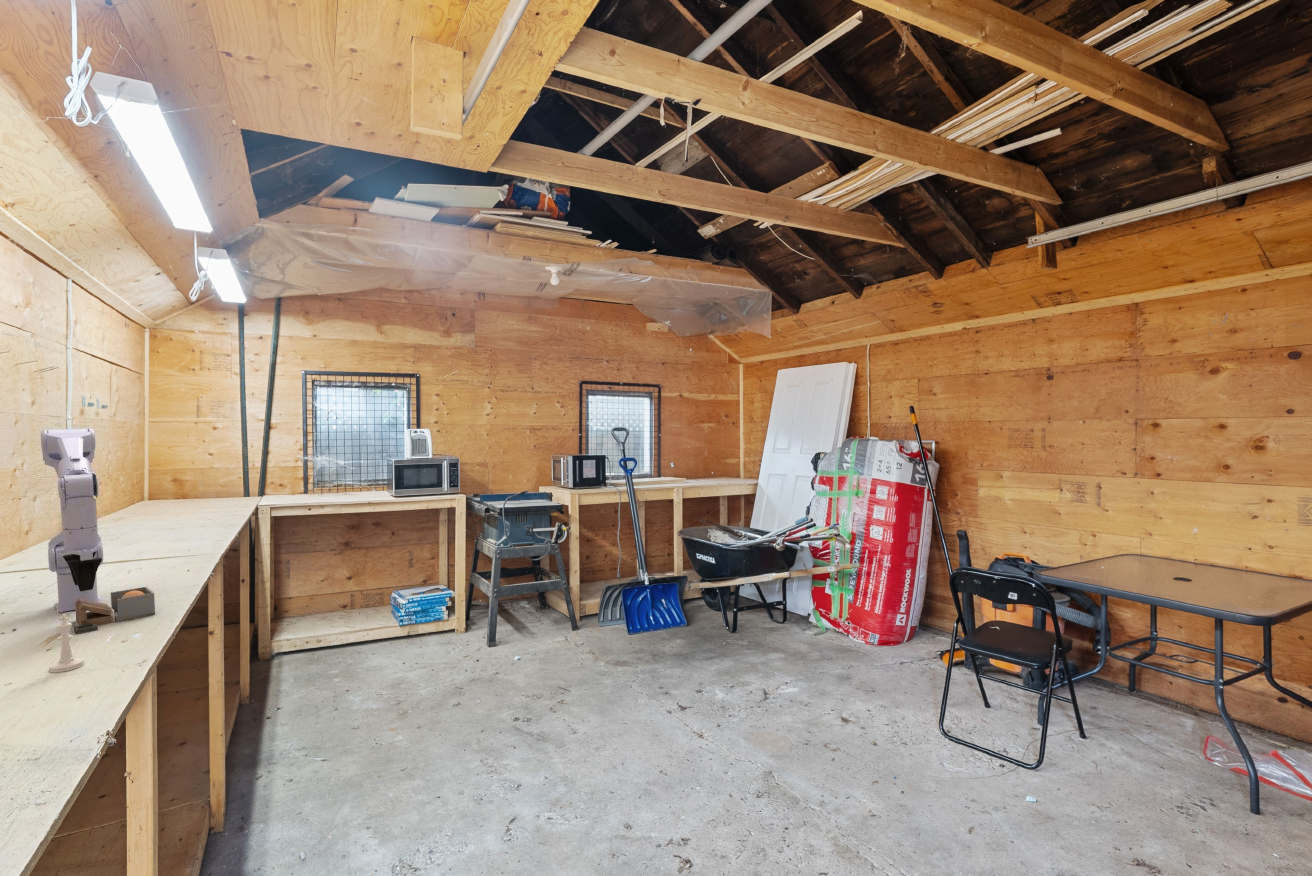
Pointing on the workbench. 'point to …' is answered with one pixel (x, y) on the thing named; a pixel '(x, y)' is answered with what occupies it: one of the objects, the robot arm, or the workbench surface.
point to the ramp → (93, 612)
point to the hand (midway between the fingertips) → (83, 587)
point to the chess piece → (65, 650)
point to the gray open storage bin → (132, 604)
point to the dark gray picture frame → (85, 628)
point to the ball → (133, 594)
